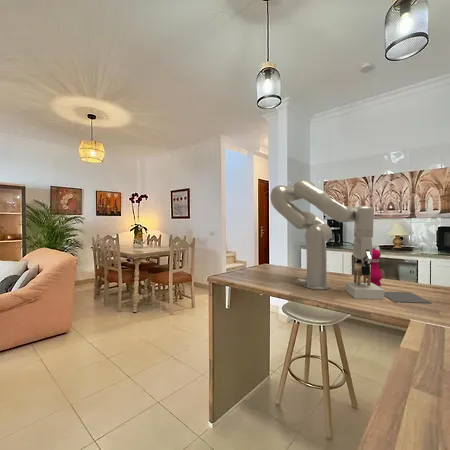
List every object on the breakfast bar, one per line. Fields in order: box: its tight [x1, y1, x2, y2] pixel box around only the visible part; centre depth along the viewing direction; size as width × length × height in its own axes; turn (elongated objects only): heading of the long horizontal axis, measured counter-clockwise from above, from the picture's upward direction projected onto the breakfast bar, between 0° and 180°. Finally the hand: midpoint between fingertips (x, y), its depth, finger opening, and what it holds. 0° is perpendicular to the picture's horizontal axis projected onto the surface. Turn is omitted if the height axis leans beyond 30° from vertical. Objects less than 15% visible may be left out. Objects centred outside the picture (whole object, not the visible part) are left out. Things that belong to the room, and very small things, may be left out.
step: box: [344, 281, 385, 300], centre depth 116 cm, size 12×12×4 cm
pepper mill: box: [366, 245, 383, 287], centre depth 132 cm, size 7×7×20 cm
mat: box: [384, 291, 432, 304], centre depth 111 cm, size 14×14×1 cm
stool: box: [353, 262, 371, 286], centre depth 116 cm, size 7×7×9 cm
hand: (362, 272), depth 116 cm, fingers closed on stool, 6 cm apart
